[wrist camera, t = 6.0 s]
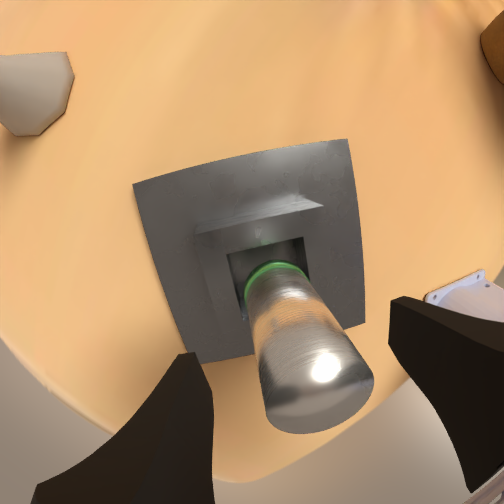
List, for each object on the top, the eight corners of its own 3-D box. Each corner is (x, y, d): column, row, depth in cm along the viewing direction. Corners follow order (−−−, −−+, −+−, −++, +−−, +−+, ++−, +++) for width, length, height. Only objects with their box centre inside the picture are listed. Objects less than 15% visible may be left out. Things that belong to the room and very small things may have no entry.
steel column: (302, 252, 14) (379, 341, 6) (310, 309, 15) (371, 414, 7) (236, 267, 13) (252, 377, 6) (251, 324, 14) (273, 444, 7)
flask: (13, 75, 12) (-62, 54, 3) (78, 40, 13) (7, -12, 3) (11, 150, 14) (-77, 156, 5) (76, 119, 15) (-21, 98, 5)
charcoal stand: (341, 139, 17) (369, 134, 13) (360, 316, 21) (382, 342, 17) (137, 183, 17) (114, 187, 13) (194, 357, 21) (190, 391, 17)
